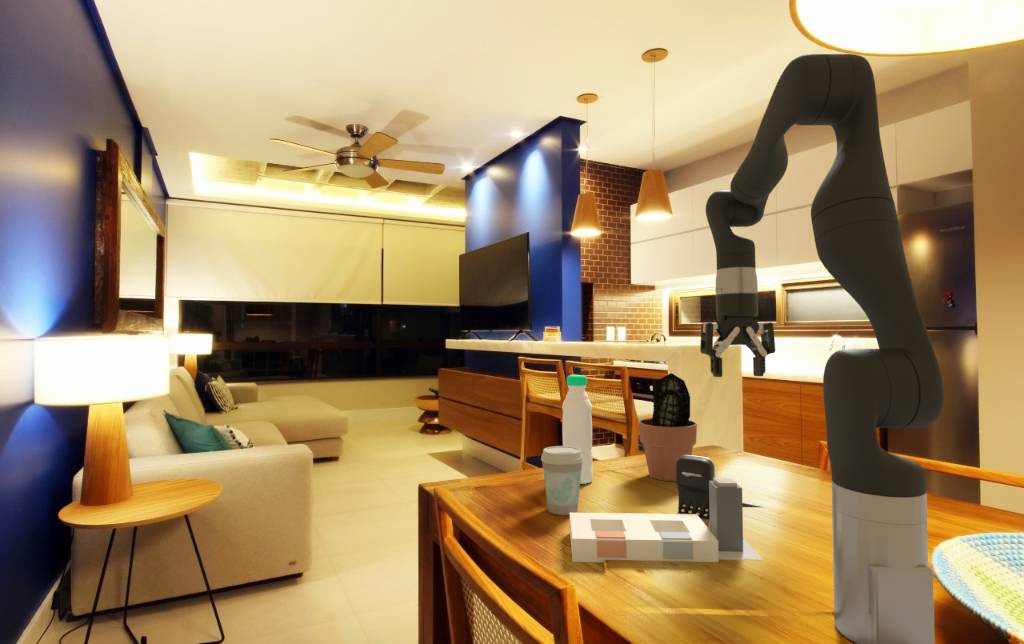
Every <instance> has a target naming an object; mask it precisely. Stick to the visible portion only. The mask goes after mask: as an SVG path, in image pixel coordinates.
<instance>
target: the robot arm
mask: <svg viewBox="0 0 1024 644" xmlns="http://www.w3.org/2000/svg"><path fill="white" fill-rule="evenodd" d="M875 82H876V80H875V75H874V72H873V69H872V66H871V64H870V62H869V61H868V59H867V58H866V57H863V56H862V55H858V54H855V53H854V54H853V53H810V54H801V55H798V56H797V57H796V56H795V58H793V59H792V60H791V61H790V62H789V63H788V64H787V66H786V67H785V68H784V70H783V71H782V73H781V75H780V76H779V79H778V80H777V82H776V84H775V87H774V90H773V92H772V94H771V97H770V99H769V101H768V104H767V107H766V109H765V111H764V114H763V116H762V118H761V122H760V124H759V127H758V129H757V131H756V135H755V137H754V139H753V143H752V145H751V147H750V149H749V151H748V152H747V155H746V156H745V157H744V160H743V161H742V163H741V164H740V165H739V167H738V169H737V170H736V172H735V174H734V175H733V177H732V179H731V182H730V187H729V188H730V189H727V190H726V189H725V190H724V189H721V190H715V191H714V192H712V193H711V194H710V195H709V196H708V198H707V200H706V203H705V216H706V221H707V223H708V227H709V229H710V232H711V235H712V239H713V242H714V246H715V252H716V253H715V254H716V274H715V275H716V276H715V290H714V291H715V314H716V315H715V316H716V320H717V321H716V323H713V322H702V323H701V325H700V326H701V327H700V344H699V345H700V347H699V348H700V349H699V350H700V353H701V354H703V355H706V356H708V357H709V359H710V360H709V361H710V362H709V363H710V372H711V374H712V376H713V377H714V378H722V377H723V357H721V356H722V355H723V353H724V352H725V350H727V349H728V348H729V346H736V345H737V346H745V347H746V348H747V349H749V350H750V351H751V352H752V355H754V356H753V357H752V361H753V362H752V367H753V368H752V369H753V370H752V371H753V376H754V377H763V376H764V374H765V373H766V370H767V369H766V356H768V355H770V354H774V353H775V352H776V342H775V331H774V329H775V328H774V323H772V322H760V323H759V322H758V319H757V318H758V316H759V298H758V297H759V293H758V291H759V290H758V285H759V284H758V276H757V269H756V266H757V265H756V264H757V263H756V246H755V245H756V244H755V242H754V240H752V239H750V238H747V237H745V236H740V235H737V234H735V233H734V232H733V230H732V228H734V227H735V228H747V227H752V226H755V225H756V224H758V223H760V222H761V220H762V219H763V217H764V214H765V210H766V205H767V201H768V199H769V197H770V194H771V193H772V192H773V190H774V189H775V188H776V186H777V185H778V184H779V183H780V182H781V180H782V179H783V177H784V175H785V173H786V171H787V169H788V166H789V154H788V149H787V146H786V141H785V134H786V133H787V132H788V131H789V130H790V129H791V128H793V126H796V125H797V126H830V127H831V128H832V129H833V131H834V134H835V138H836V156H835V158H834V160H833V163H832V165H831V167H830V169H829V170H828V172H827V174H826V175H825V177H824V178H823V180H822V182H821V184H820V186H819V188H818V189H817V192H816V193H815V196H814V198H813V201H812V203H811V207H810V219H811V225H812V231H813V238H814V243H815V249H816V252H817V255H818V259H819V261H820V262H821V264H822V265H823V267H824V268H825V269H826V271H827V272H828V273H829V275H831V276H832V278H833V280H835V281H836V282H837V283H838V285H840V287H842V288H843V289H844V290H845V292H846V293H847V294H848V295H849V296H850V297H851V298H852V299H853V300H854V301H855V302H856V304H857V305H859V307H860V309H862V311H863V312H864V314H865V315H866V317H867V318H868V321H869V322H870V324H871V327H872V330H873V332H874V336H875V338H876V341H877V345H878V348H846V349H845V348H844V349H839V350H837V351H834V352H833V353H832V354H831V355H830V356H829V358H828V359H827V362H826V364H825V366H824V371H823V378H822V379H823V380H822V381H823V382H822V391H823V392H822V393H823V405H824V406H823V407H824V416H825V417H824V418H825V430H826V446H827V454H828V458H829V463H830V468H831V513H832V514H831V517H832V518H831V520H832V521H831V522H832V523H831V525H832V526H831V527H832V567H833V568H832V572H833V578H832V579H833V581H832V582H833V611H834V612H833V616H834V621H833V622H834V627H836V629H837V630H838V632H839V633H840V634H842V635H843V636H844V637H845V638H847V639H849V640H850V641H852V642H854V643H855V644H935V641H936V640H935V609H934V607H935V604H934V602H935V601H934V600H935V599H934V572H933V570H932V568H931V567H929V548H928V546H929V545H928V500H927V499H928V495H927V494H928V493H927V491H928V487H927V485H928V484H927V482H928V481H927V480H928V479H927V474H926V470H925V469H924V467H923V466H922V465H920V464H919V463H918V462H915V461H913V460H911V459H908V458H906V457H903V456H899V455H895V454H894V453H890V452H888V451H886V450H885V449H883V448H882V446H881V445H880V443H879V439H878V438H879V437H878V434H877V433H878V432H877V429H901V428H903V429H905V428H907V429H909V428H913V429H914V428H917V429H918V428H919V429H920V428H927V427H929V426H932V425H933V424H935V423H936V422H937V421H938V420H939V418H940V417H941V415H942V413H943V408H944V404H945V403H944V402H945V387H944V381H943V376H942V371H941V368H940V365H939V361H938V358H937V355H936V353H935V349H934V346H933V343H932V341H931V338H930V334H929V333H928V330H927V327H926V323H925V321H924V318H923V315H922V312H921V311H920V307H919V304H918V301H917V298H916V295H915V289H914V287H913V284H912V279H911V275H910V271H909V267H908V263H907V258H906V255H905V254H906V253H905V249H904V244H903V239H902V232H901V226H900V221H899V218H898V213H897V209H896V205H895V201H894V198H893V193H892V190H891V186H890V182H889V177H888V172H887V168H886V164H885V157H884V153H883V152H884V151H883V146H882V140H881V133H880V122H879V112H878V110H879V109H878V100H877V90H876V83H875ZM715 333H717V334H718V337H717V338H716V340H715V341H714V334H715ZM757 333H759V334H760V338H759V337H758V335H756V334H757Z"/></svg>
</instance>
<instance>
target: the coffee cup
mask: <svg viewBox="0 0 1024 644" xmlns="http://www.w3.org/2000/svg"><path fill="white" fill-rule="evenodd" d="M540 457H541V458H540V461H541V462H542V463H541V464H542V469H543V470H542V471H543V479H544V486H545V488H544V489H545V495H546V504H547V510H548V511H547V512H549V513H550V514H554V515H556V514H557V515H558V516H570V512H572V513H578V508H579V500H580V498H579V497H580V487H581V485H580V480H581V469H582V462H583V461H584V459H583V455H582V452H581V450H580V449H579V448H576V447H570V446H563V445H555V446H554V445H553V446H548V447H545V448H543V450H542V454H541V456H540ZM557 515H556V516H557Z"/></svg>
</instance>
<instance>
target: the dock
mask: <svg viewBox="0 0 1024 644" xmlns="http://www.w3.org/2000/svg"><path fill="white" fill-rule="evenodd" d="M569 536H570V537H569V539H570V548H571V559H572V563H597V564H598V563H600V564H601V563H603V564H605V563H607V562H606V561H643V562H644V561H646V562H647V561H648V562H649V561H653V562H654V561H655V562H693V563H695V562H697V563H699V562H700V563H704V562H705V563H719V560H720V559H718V540H717V539H716V538H715V536H714V535H713V534H712V533H711V531H710V528H709V527H708V526H707V525H706V524H705V522H704V521H703V520H702V518H700V517H699V516H698V515H697V514H679V513H643V512H642V513H634V512H633V513H628V512H576V513H572V512H570V515H569Z"/></svg>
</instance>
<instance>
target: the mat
mask: <svg viewBox="0 0 1024 644" xmlns="http://www.w3.org/2000/svg"><path fill="white" fill-rule="evenodd" d="M718 560H729V561H730V560H731V561H732V560H734V561H735V560H736V561H737V560H738V561H739V560H740V561H741V560H742V561H764V559H763V558H762V556H761V555H759V553H758V552H757V551H756V550H755V549H754V548H753V547H752V546H751V545H750V543H749V542H748V541H747V540H746V539H745V538H744V537H743V552H737V551H718Z"/></svg>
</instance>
